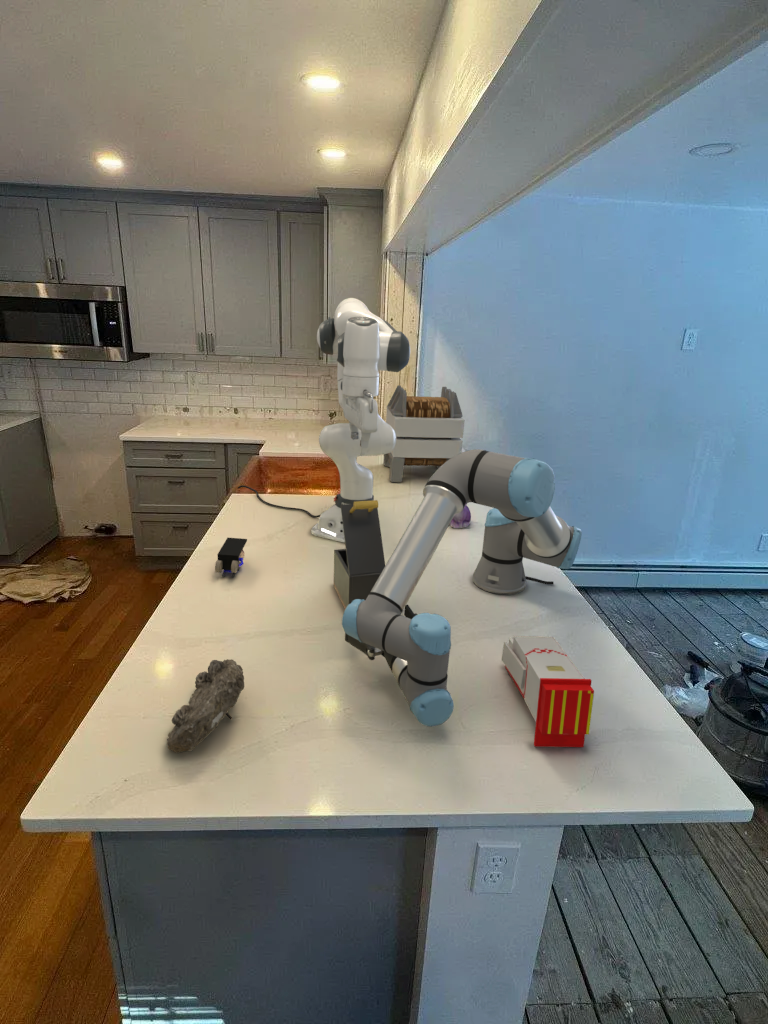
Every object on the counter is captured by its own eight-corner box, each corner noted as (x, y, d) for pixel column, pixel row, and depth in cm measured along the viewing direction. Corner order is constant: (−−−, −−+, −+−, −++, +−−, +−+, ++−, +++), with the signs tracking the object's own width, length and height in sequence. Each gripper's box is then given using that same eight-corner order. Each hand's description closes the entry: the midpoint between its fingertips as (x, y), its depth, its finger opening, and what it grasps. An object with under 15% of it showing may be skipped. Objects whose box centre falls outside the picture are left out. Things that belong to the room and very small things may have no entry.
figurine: (456, 530, 205) (460, 491, 199) (441, 521, 213) (444, 483, 208) (477, 527, 209) (481, 488, 204) (461, 518, 217) (465, 480, 212)
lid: (340, 505, 146) (347, 496, 138) (376, 503, 149) (384, 494, 141) (348, 575, 142) (356, 570, 134) (385, 572, 145) (394, 566, 137)
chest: (333, 585, 161) (334, 549, 157) (366, 582, 164) (367, 546, 160) (348, 616, 145) (349, 577, 141) (383, 612, 148) (385, 573, 144)
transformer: (382, 463, 289) (386, 382, 275) (445, 464, 293) (451, 384, 279) (390, 482, 257) (394, 392, 243) (460, 483, 261) (468, 394, 247)
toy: (550, 619, 129) (603, 686, 100) (544, 673, 132) (595, 754, 102) (497, 618, 128) (535, 685, 99) (492, 672, 131) (528, 753, 102)
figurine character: (238, 584, 162) (249, 557, 175) (236, 562, 158) (247, 536, 172) (215, 584, 161) (227, 556, 175) (212, 561, 158) (225, 535, 171)
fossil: (192, 660, 117) (244, 628, 112) (224, 691, 120) (276, 661, 115) (142, 746, 98) (202, 712, 93) (182, 779, 101) (242, 748, 96)
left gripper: (385, 393, 130) (383, 452, 134) (362, 382, 148) (360, 434, 153) (359, 393, 128) (357, 453, 133) (338, 382, 146) (337, 434, 151)
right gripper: (348, 688, 113) (327, 632, 132) (462, 671, 121) (426, 620, 140) (349, 656, 111) (327, 604, 130) (466, 640, 118) (429, 593, 137)
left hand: (359, 443), depth 143 cm, fingers open, 8 cm apart
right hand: (378, 612), depth 135 cm, fingers open, 13 cm apart
